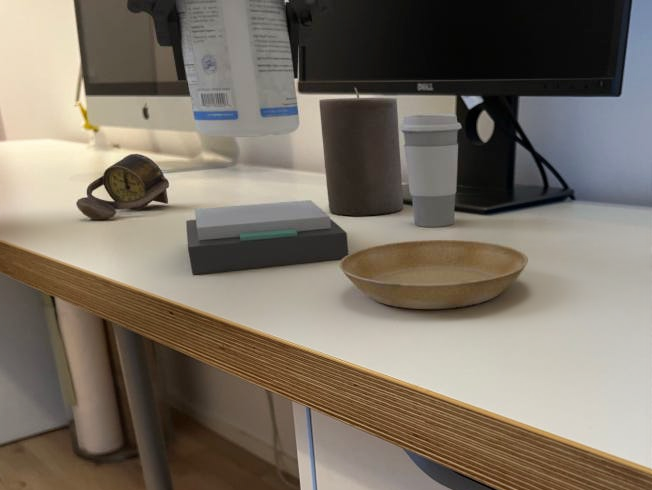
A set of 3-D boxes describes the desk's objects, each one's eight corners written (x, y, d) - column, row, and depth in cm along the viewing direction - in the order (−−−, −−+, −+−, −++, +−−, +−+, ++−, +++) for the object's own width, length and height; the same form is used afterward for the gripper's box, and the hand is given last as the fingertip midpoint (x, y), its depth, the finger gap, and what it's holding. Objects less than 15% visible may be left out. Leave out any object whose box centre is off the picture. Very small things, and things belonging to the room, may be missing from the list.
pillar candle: (347, 219, 85) (335, 88, 80) (318, 208, 93) (305, 88, 87) (417, 210, 90) (410, 86, 85) (384, 201, 98) (376, 86, 92)
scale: (192, 275, 62) (185, 233, 60) (190, 244, 74) (184, 208, 72) (348, 258, 66) (345, 219, 65) (322, 231, 78) (319, 198, 77)
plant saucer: (439, 259, 65) (438, 231, 64) (565, 287, 56) (566, 255, 55) (305, 293, 56) (301, 261, 55) (429, 334, 46) (427, 296, 45)
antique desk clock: (188, 166, 94) (143, 147, 98) (95, 167, 83) (49, 146, 88) (185, 218, 97) (142, 197, 101) (95, 225, 86) (50, 202, 90)
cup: (446, 215, 86) (442, 113, 82) (475, 223, 81) (472, 115, 77) (394, 222, 83) (388, 116, 78) (421, 231, 78) (415, 118, 73)
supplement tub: (289, 130, 73) (271, -30, 67) (310, 134, 65) (292, -46, 59) (190, 134, 69) (163, -35, 63) (200, 139, 61) (170, -53, 55)
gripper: (38, -168, 43) (114, 102, 62) (389, -136, 50) (358, 95, 70) (31, -241, 45) (106, 40, 65) (366, -200, 53) (343, 40, 72)
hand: (237, 69), depth 67 cm, fingers closed on supplement tub, 10 cm apart
